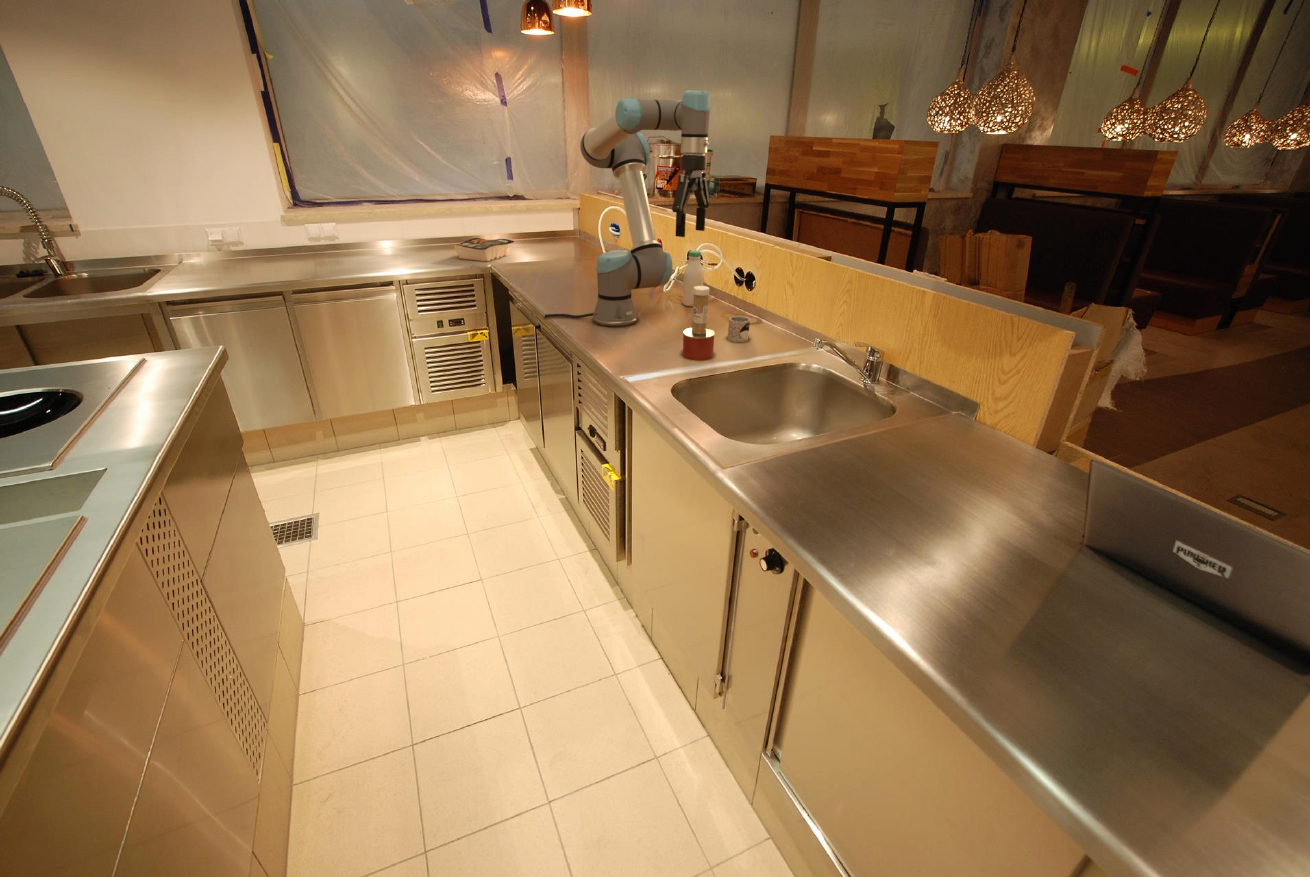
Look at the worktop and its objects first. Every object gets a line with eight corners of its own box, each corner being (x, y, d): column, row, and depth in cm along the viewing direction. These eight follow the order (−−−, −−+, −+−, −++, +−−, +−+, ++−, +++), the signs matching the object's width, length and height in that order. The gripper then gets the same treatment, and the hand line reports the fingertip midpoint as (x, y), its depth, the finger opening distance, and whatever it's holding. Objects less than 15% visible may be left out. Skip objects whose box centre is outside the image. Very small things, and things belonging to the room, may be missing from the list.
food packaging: (478, 236, 306) (514, 239, 299) (480, 251, 310) (516, 254, 303) (447, 244, 286) (486, 247, 279) (450, 259, 289) (487, 263, 283)
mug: (742, 343, 184) (744, 323, 180) (724, 339, 187) (725, 319, 183) (755, 335, 191) (757, 315, 188) (737, 331, 194) (738, 312, 191)
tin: (677, 356, 172) (677, 334, 169) (690, 347, 180) (691, 325, 176) (705, 362, 168) (706, 339, 165) (718, 352, 176) (719, 330, 172)
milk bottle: (700, 307, 220) (703, 253, 210) (681, 306, 221) (683, 252, 211) (703, 302, 226) (706, 250, 217) (684, 301, 227) (686, 249, 218)
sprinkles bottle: (688, 332, 170) (690, 287, 164) (697, 329, 174) (699, 284, 167) (700, 335, 168) (703, 290, 161) (709, 332, 171) (712, 287, 164)
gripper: (686, 156, 150) (682, 240, 161) (723, 153, 170) (718, 229, 180) (661, 155, 154) (659, 238, 164) (700, 153, 173) (696, 227, 183)
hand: (690, 233), depth 172 cm, fingers open, 13 cm apart
